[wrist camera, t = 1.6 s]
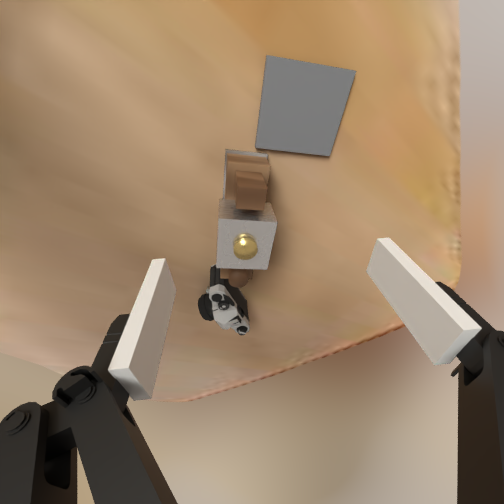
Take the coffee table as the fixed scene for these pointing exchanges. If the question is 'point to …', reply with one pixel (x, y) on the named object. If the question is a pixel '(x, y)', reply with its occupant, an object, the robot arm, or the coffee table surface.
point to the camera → (224, 304)
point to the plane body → (244, 195)
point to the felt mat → (301, 105)
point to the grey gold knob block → (244, 236)
